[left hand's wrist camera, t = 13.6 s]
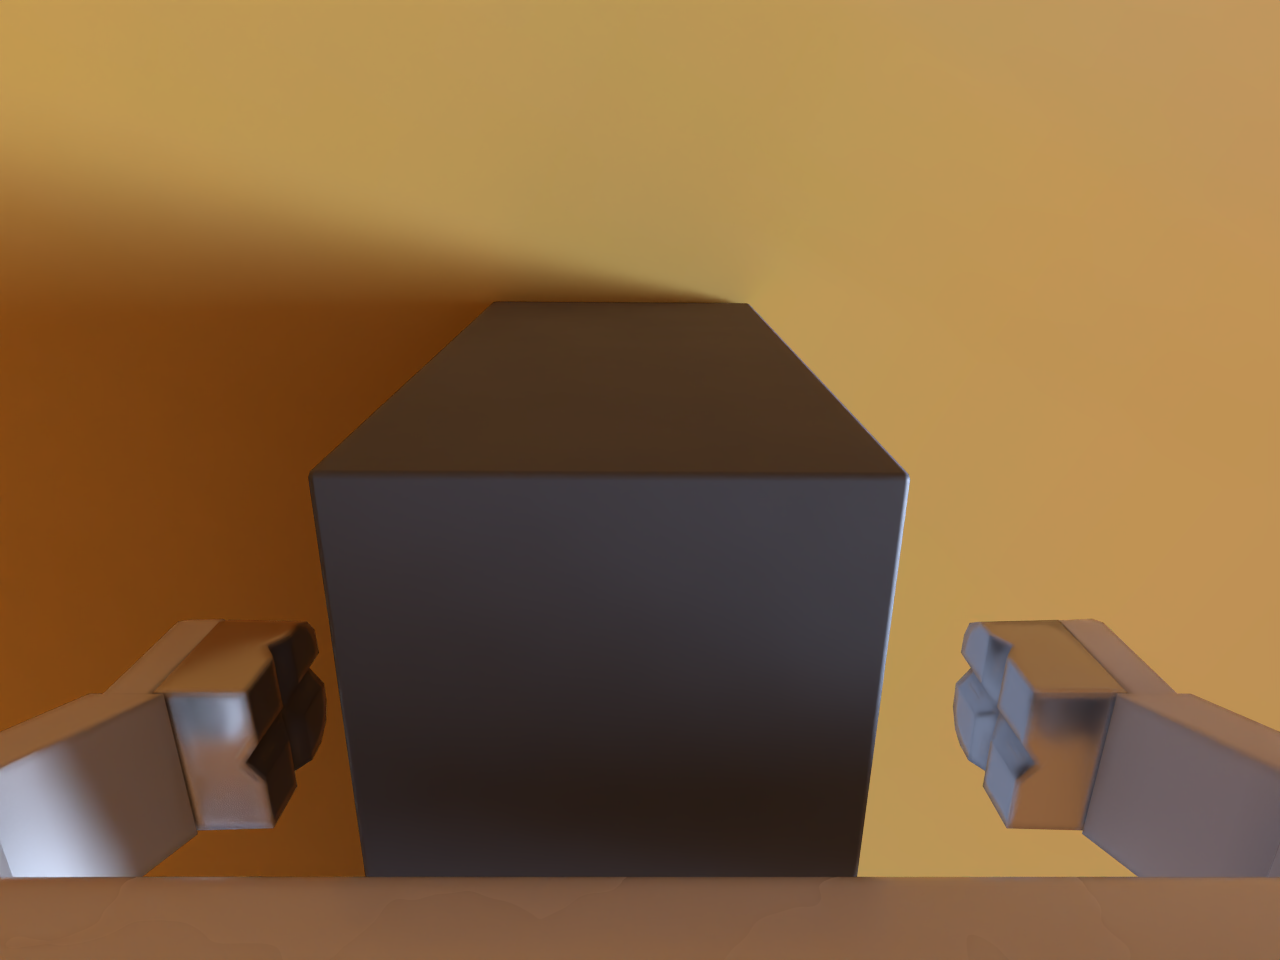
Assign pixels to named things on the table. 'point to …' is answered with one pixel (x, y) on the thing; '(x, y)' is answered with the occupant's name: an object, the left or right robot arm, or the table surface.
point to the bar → (610, 601)
